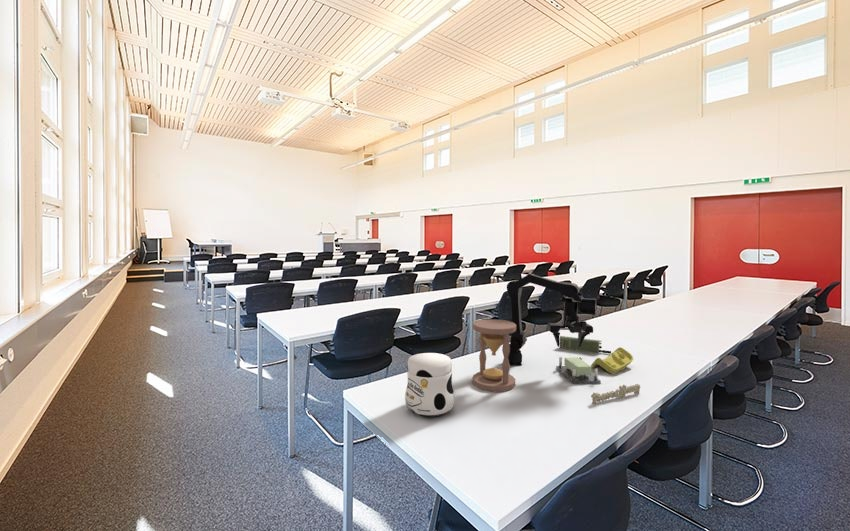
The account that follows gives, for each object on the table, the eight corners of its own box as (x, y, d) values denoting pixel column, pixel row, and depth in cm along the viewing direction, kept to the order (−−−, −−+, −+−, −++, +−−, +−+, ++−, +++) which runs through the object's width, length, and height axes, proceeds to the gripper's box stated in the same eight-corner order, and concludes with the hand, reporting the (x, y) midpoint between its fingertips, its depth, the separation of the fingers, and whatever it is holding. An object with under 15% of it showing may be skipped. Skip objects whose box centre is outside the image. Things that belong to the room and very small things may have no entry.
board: (577, 375, 159) (577, 366, 159) (564, 365, 171) (564, 357, 171) (591, 374, 160) (591, 366, 159) (577, 364, 172) (577, 357, 171)
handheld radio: (560, 347, 207) (611, 353, 196) (559, 349, 204) (611, 356, 193) (560, 335, 207) (611, 341, 195) (559, 337, 204) (611, 343, 192)
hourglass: (464, 378, 162) (465, 321, 160) (499, 372, 169) (500, 317, 167) (487, 395, 146) (488, 331, 144) (524, 387, 153) (525, 326, 151)
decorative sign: (593, 407, 137) (593, 394, 137) (590, 406, 139) (591, 393, 138) (640, 393, 147) (640, 381, 146) (637, 392, 148) (637, 380, 148)
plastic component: (615, 370, 165) (595, 355, 172) (607, 382, 169) (589, 367, 175) (637, 358, 177) (618, 344, 183) (630, 370, 180) (611, 356, 187)
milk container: (397, 416, 129) (396, 364, 128) (416, 395, 145) (416, 349, 144) (445, 425, 123) (445, 371, 121) (460, 402, 139) (460, 354, 138)
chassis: (571, 383, 157) (572, 370, 156) (556, 368, 174) (556, 356, 174) (600, 383, 157) (601, 370, 156) (582, 367, 175) (582, 356, 174)
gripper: (555, 316, 159) (553, 352, 161) (600, 316, 159) (597, 353, 161) (547, 310, 170) (545, 344, 172) (588, 311, 170) (586, 345, 172)
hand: (568, 346), depth 169 cm, fingers open, 9 cm apart
